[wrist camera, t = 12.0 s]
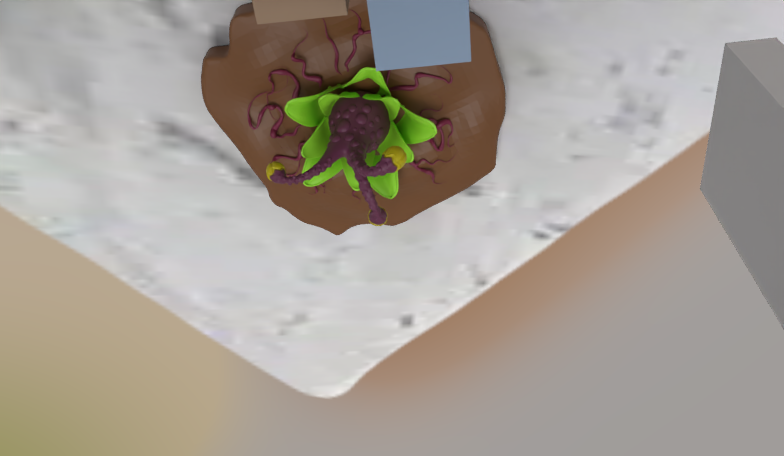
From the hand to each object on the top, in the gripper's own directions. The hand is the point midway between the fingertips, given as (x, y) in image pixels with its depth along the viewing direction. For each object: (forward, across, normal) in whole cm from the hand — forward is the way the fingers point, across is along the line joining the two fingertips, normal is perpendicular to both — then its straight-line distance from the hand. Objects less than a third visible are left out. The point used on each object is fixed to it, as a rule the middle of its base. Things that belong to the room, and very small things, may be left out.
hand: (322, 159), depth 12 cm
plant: (+37, -3, -18) cm, 41 cm away
